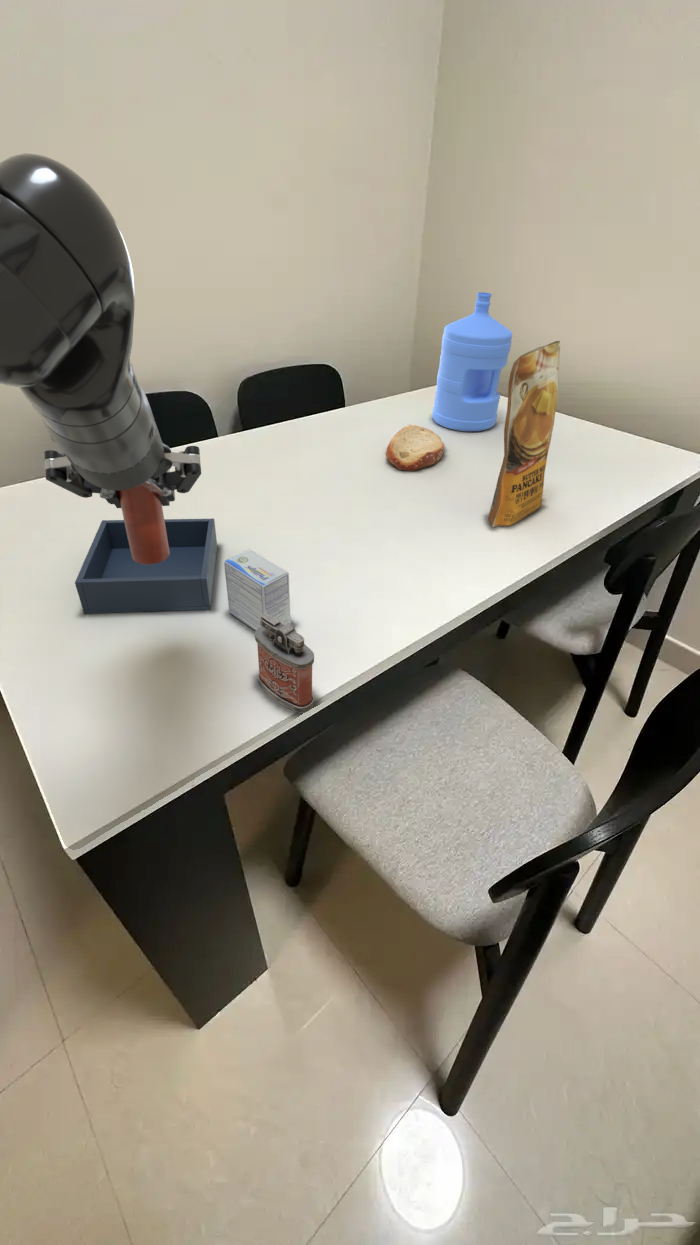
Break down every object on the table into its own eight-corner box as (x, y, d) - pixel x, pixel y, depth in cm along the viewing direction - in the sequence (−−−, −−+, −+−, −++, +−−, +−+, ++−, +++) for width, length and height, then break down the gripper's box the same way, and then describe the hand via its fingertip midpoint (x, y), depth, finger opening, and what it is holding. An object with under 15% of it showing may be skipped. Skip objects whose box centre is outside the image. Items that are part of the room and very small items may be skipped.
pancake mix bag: (466, 521, 103) (498, 352, 86) (521, 490, 114) (559, 335, 97) (499, 535, 100) (539, 362, 82) (552, 502, 111) (597, 343, 93)
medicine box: (291, 625, 78) (290, 571, 72) (266, 640, 75) (263, 585, 70) (253, 600, 82) (250, 547, 76) (228, 613, 79) (222, 559, 74)
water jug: (419, 420, 143) (434, 291, 126) (453, 406, 153) (472, 285, 135) (474, 438, 136) (498, 303, 118) (506, 422, 145) (533, 295, 128)
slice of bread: (419, 431, 137) (421, 415, 135) (469, 459, 125) (472, 442, 123) (355, 443, 129) (356, 427, 127) (402, 474, 118) (404, 456, 115)
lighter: (320, 702, 67) (321, 635, 61) (299, 718, 65) (298, 650, 59) (272, 668, 71) (269, 603, 65) (251, 682, 69) (246, 616, 63)
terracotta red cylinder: (128, 564, 62) (111, 486, 56) (135, 545, 65) (119, 469, 60) (167, 564, 62) (154, 486, 57) (171, 545, 66) (159, 469, 60)
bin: (83, 613, 78) (74, 582, 74) (109, 549, 90) (101, 520, 87) (210, 609, 80) (206, 578, 76) (217, 546, 93) (214, 518, 89)
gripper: (194, 378, 47) (208, 462, 63) (2, 380, 44) (69, 466, 61) (202, 468, 46) (214, 528, 63) (6, 475, 43) (74, 536, 60)
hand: (142, 497), depth 62 cm, fingers closed on terracotta red cylinder, 4 cm apart
